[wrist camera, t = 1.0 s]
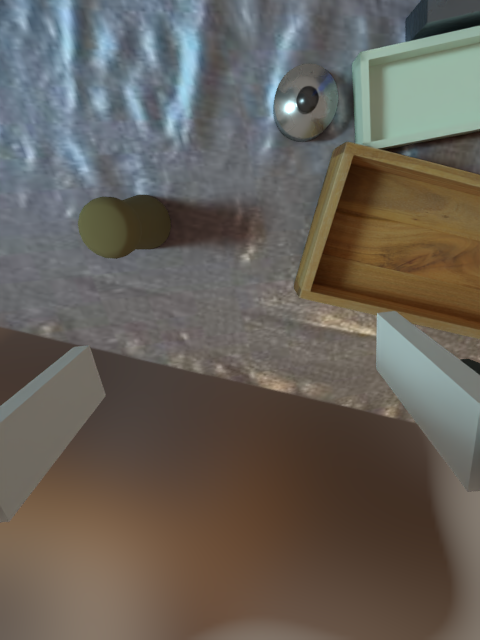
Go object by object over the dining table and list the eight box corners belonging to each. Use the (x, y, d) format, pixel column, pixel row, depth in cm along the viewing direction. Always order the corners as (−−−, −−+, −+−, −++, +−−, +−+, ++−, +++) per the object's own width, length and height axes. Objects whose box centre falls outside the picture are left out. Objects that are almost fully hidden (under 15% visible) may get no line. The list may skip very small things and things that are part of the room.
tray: (600, 217, 35) (663, 220, 29) (526, 340, 40) (568, 361, 35) (331, 149, 33) (346, 139, 28) (292, 285, 39) (298, 298, 33)
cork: (165, 191, 35) (128, 186, 25) (175, 246, 37) (145, 262, 27) (113, 197, 36) (56, 195, 25) (125, 251, 38) (77, 269, 27)
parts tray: (351, 63, 30) (360, 52, 28) (553, 19, 29) (579, 3, 26) (355, 155, 33) (363, 151, 31) (540, 119, 31) (563, 112, 29)
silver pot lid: (269, 79, 31) (271, 67, 28) (330, 66, 31) (338, 52, 28) (277, 147, 33) (279, 141, 30) (335, 135, 33) (342, 128, 30)
